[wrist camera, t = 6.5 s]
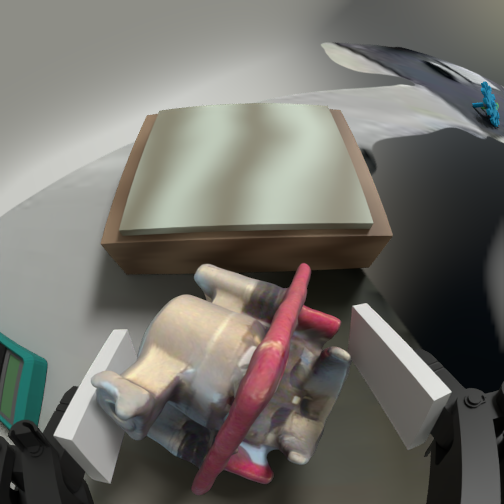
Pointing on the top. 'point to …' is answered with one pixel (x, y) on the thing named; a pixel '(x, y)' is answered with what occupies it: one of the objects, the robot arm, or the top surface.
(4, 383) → the digital multimeter
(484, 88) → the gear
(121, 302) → the top surface
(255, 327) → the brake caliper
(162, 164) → the walnut stand
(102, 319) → the top surface
